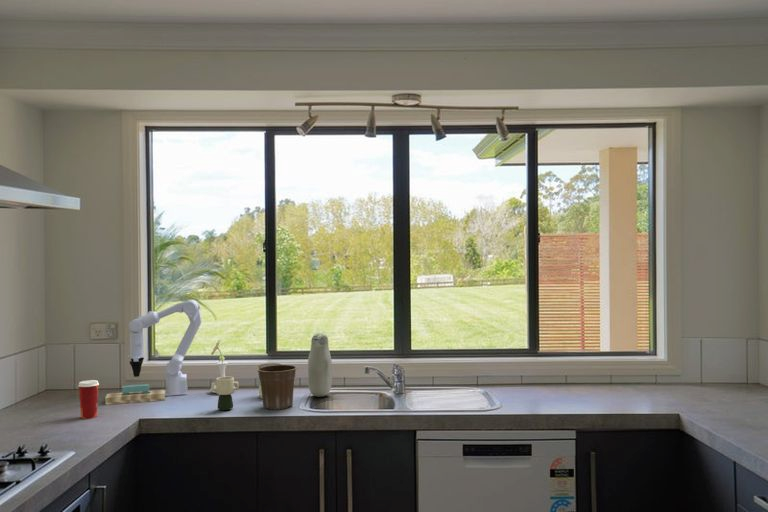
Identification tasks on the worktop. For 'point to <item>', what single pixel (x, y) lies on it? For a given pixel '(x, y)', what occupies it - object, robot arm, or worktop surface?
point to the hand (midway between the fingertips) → (137, 375)
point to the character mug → (225, 391)
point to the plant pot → (277, 385)
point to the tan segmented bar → (135, 397)
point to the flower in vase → (220, 364)
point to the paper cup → (88, 398)
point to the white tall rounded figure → (319, 366)
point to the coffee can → (259, 379)
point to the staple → (135, 389)
